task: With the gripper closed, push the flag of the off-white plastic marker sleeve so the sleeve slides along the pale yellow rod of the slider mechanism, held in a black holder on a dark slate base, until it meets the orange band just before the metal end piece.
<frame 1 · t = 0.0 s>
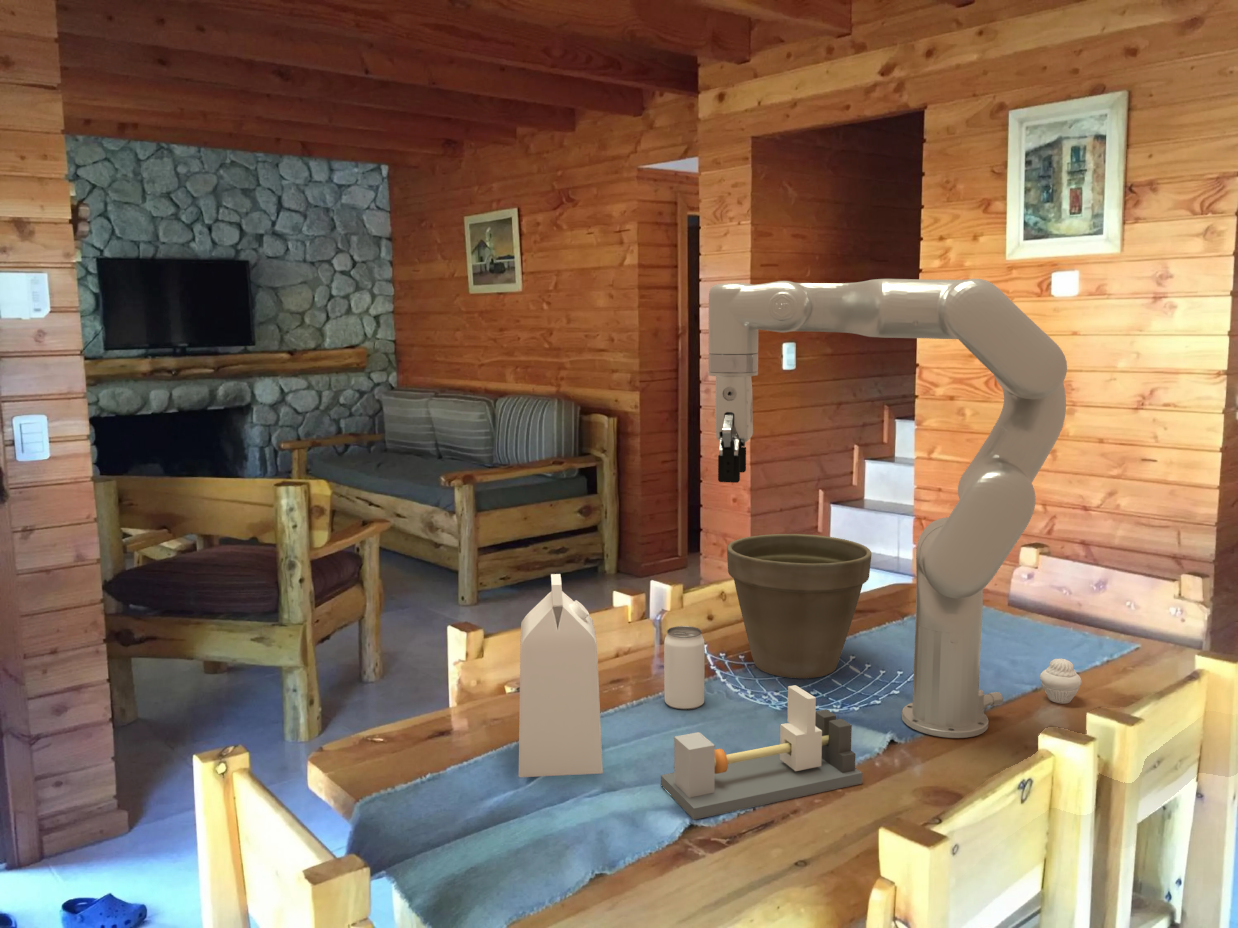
hand: (732, 476, 156), 37 cm above the table, tool pointing down, fingers open, 9 cm apart
milk: (559, 757, 144), on the table
sleeve: (801, 727, 136), point 7 cm above the table, slide at 0.0 cm
plant pot: (796, 665, 181), on the table
slider mechanism: (761, 784, 135), on the table
can: (684, 703, 164), on the table
muffin: (1059, 701, 163), on the table
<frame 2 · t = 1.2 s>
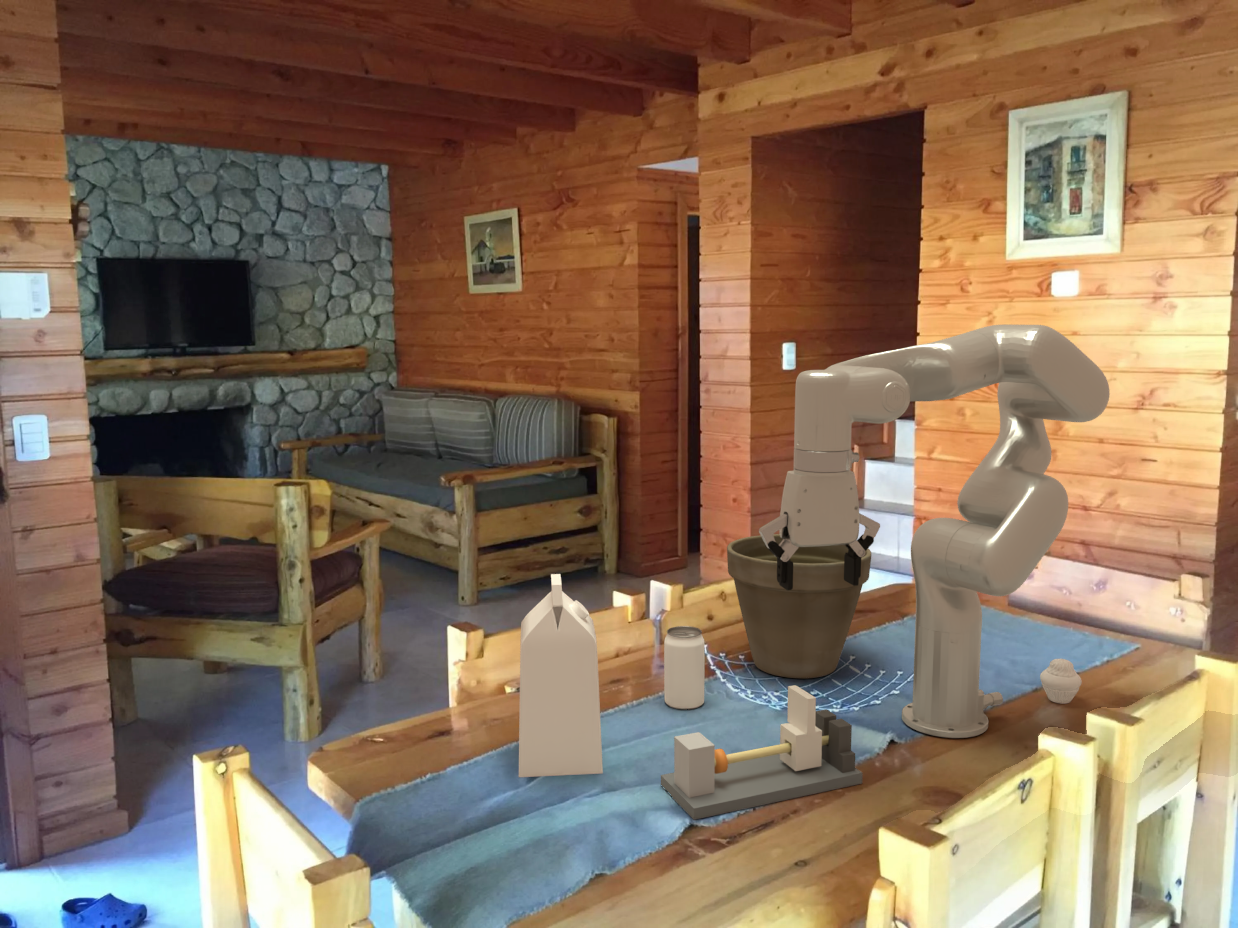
hand: (818, 585, 139), 25 cm above the table, tool pointing down, fingers open, 9 cm apart
nothing on the table moved.
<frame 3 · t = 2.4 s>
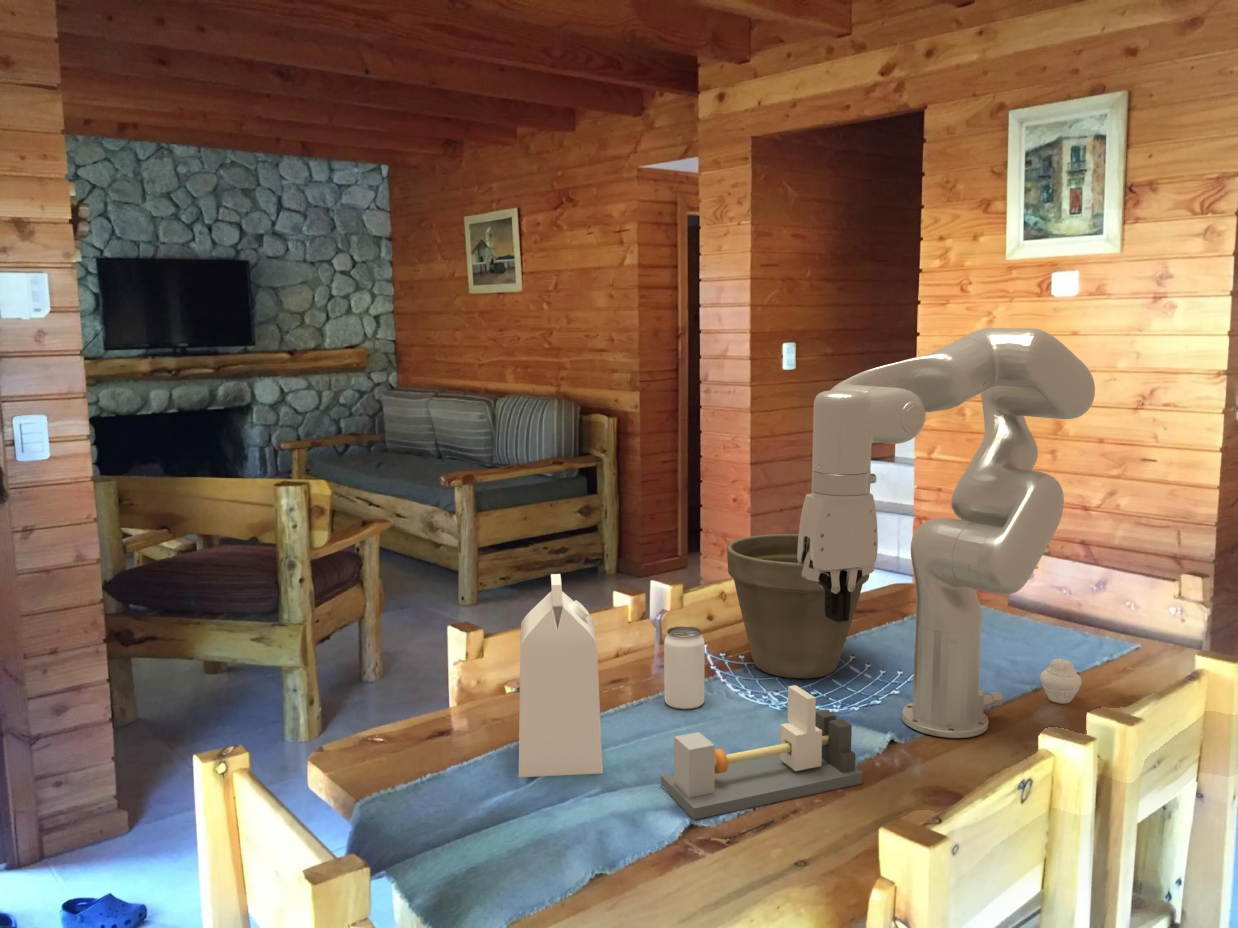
hand: (837, 618, 136), 22 cm above the table, tool pointing down, fingers closed
nothing on the table moved.
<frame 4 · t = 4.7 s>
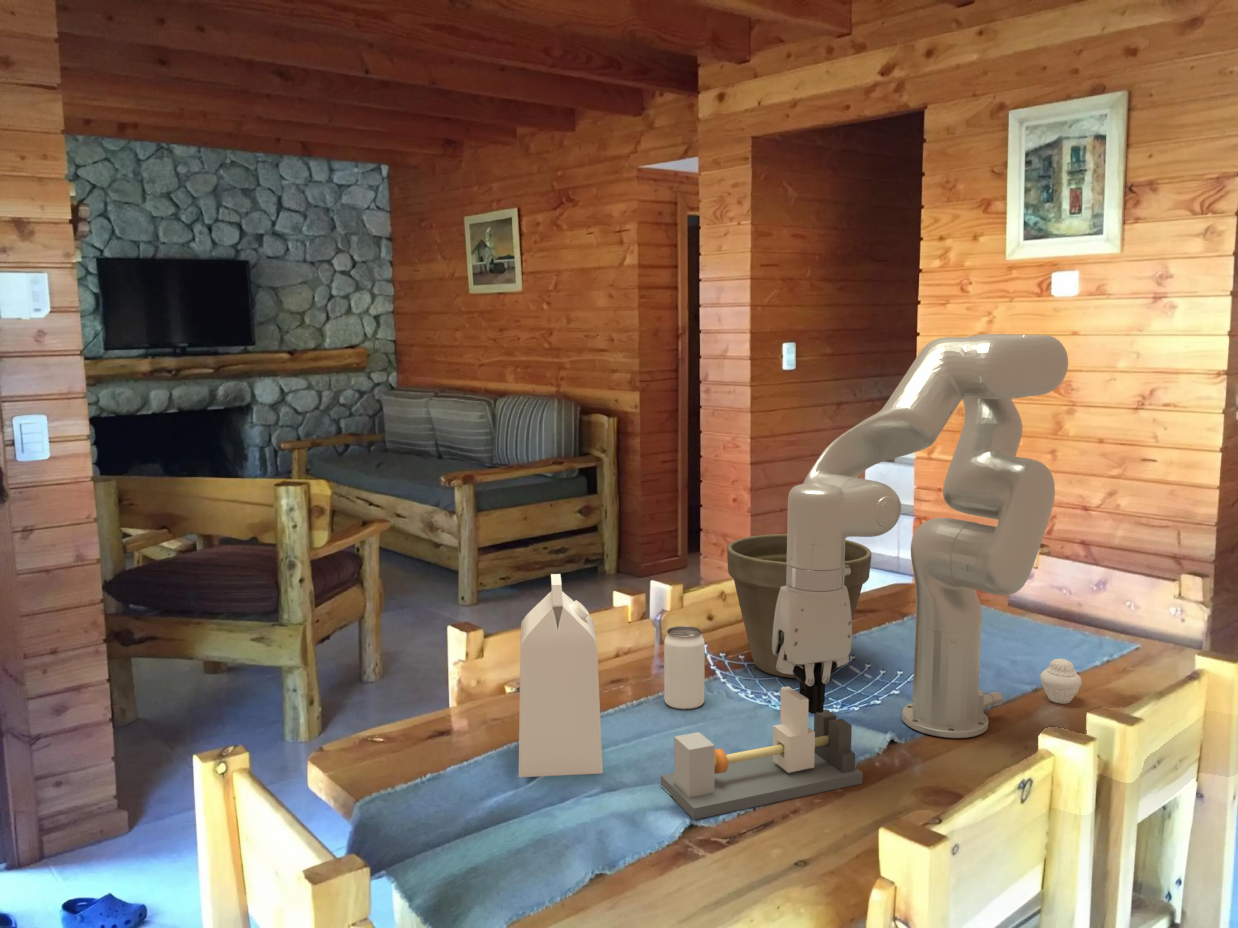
hand: (811, 709, 136), 9 cm above the table, tool pointing down, fingers closed
sleeve: (793, 728, 136), point 7 cm above the table, slide at 1.1 cm, touching gripper
everything else where it was.
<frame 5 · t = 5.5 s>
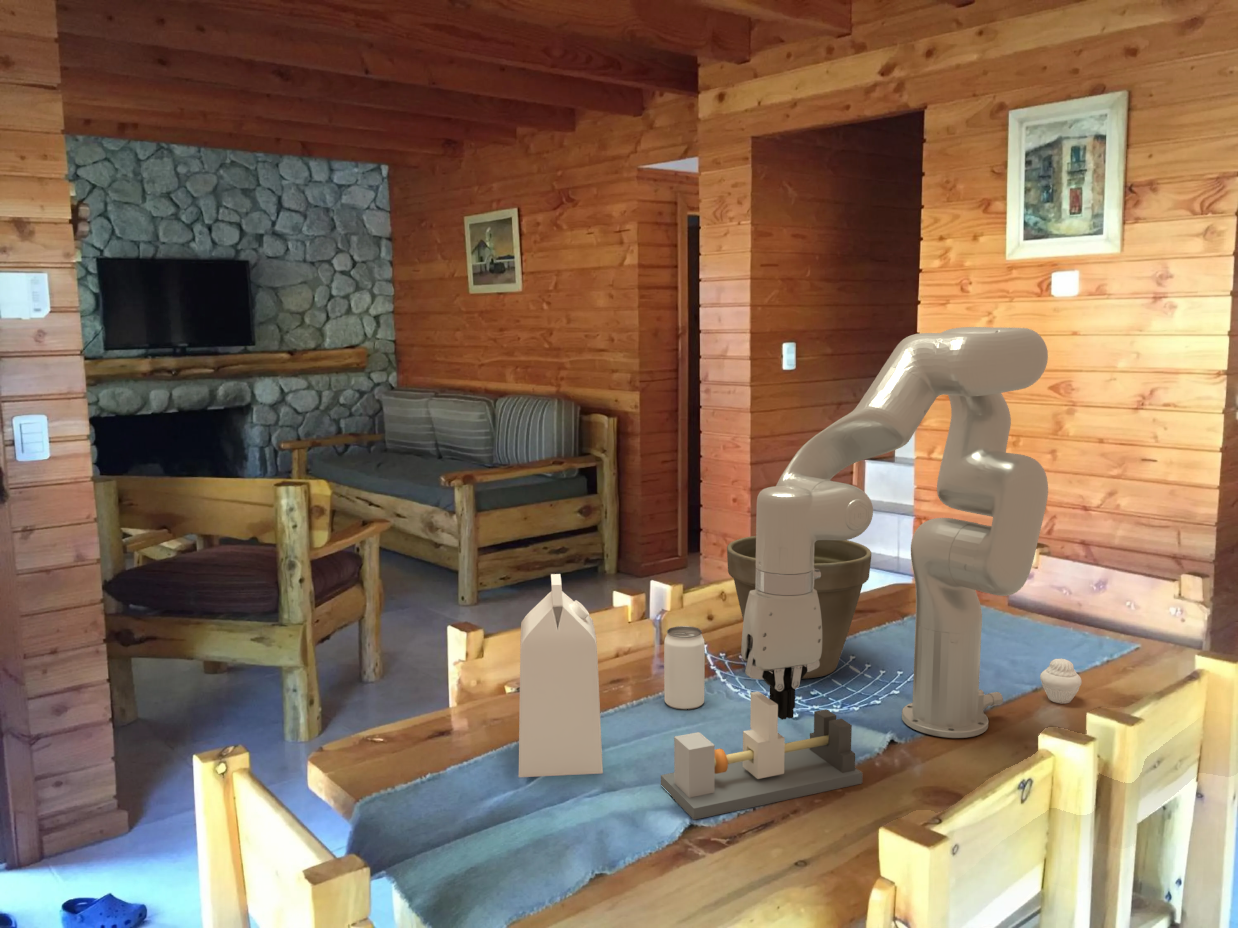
hand: (781, 714, 135), 9 cm above the table, tool pointing down, fingers closed
sleeve: (763, 734, 134), point 7 cm above the table, slide at 5.8 cm, touching gripper
everything else where it was.
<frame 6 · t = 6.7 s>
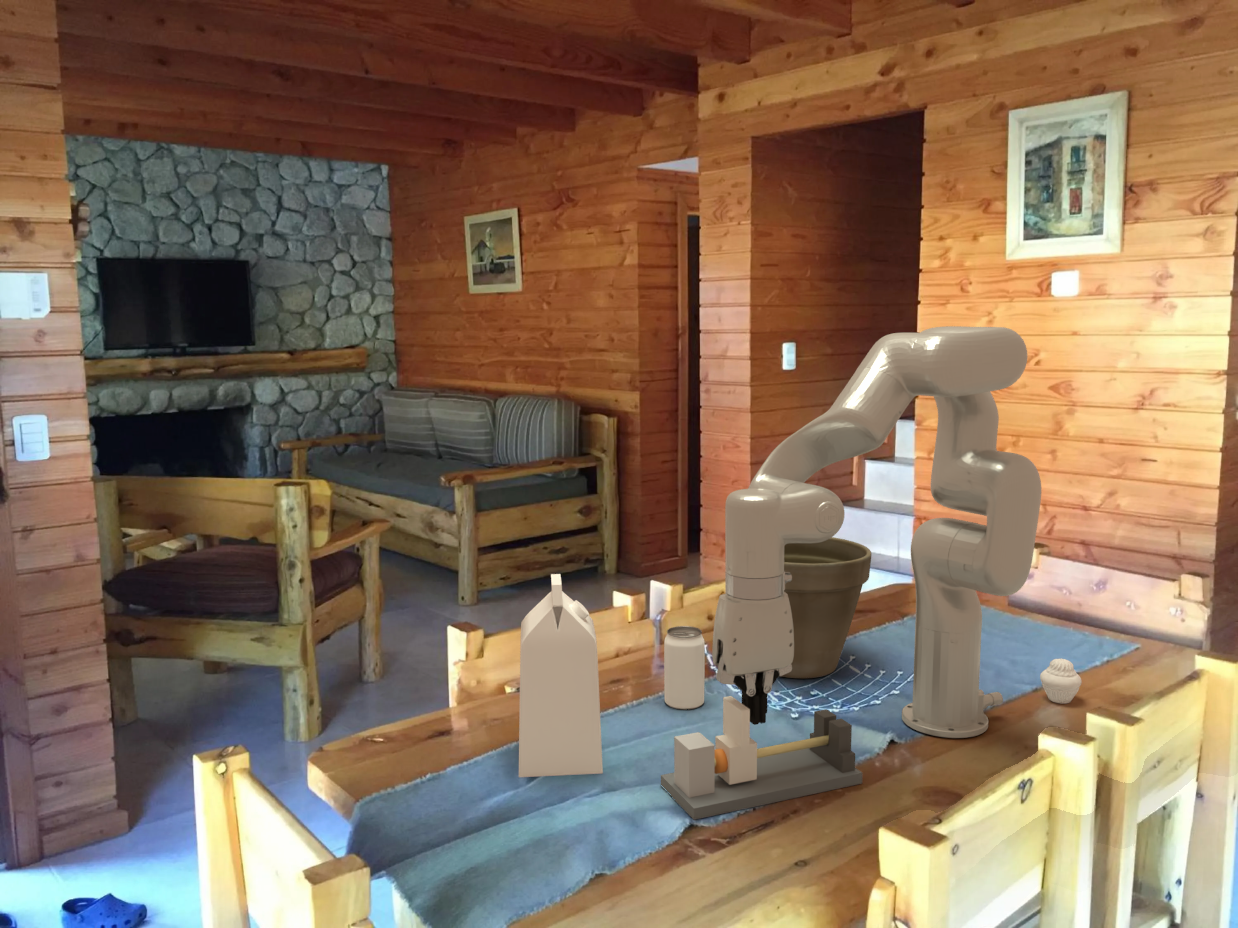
hand: (754, 719, 133), 9 cm above the table, tool pointing down, fingers closed
sleeve: (736, 739, 133), point 7 cm above the table, slide at 9.9 cm, touching slider mechanism, gripper
everything else where it was.
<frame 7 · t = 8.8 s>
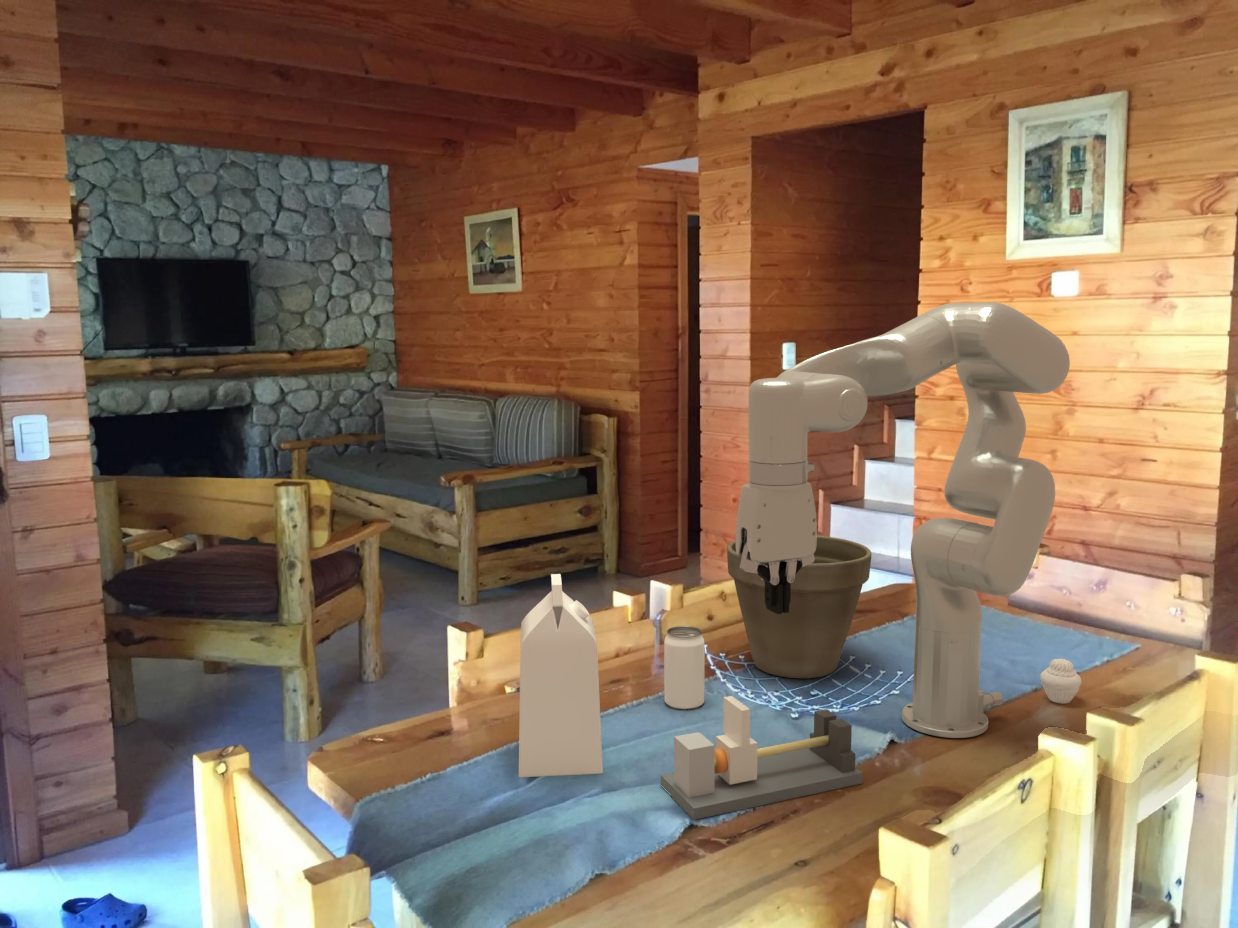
hand: (777, 610, 134), 23 cm above the table, tool pointing down, fingers closed
sleeve: (736, 739, 133), point 7 cm above the table, slide at 9.9 cm
everything else where it was.
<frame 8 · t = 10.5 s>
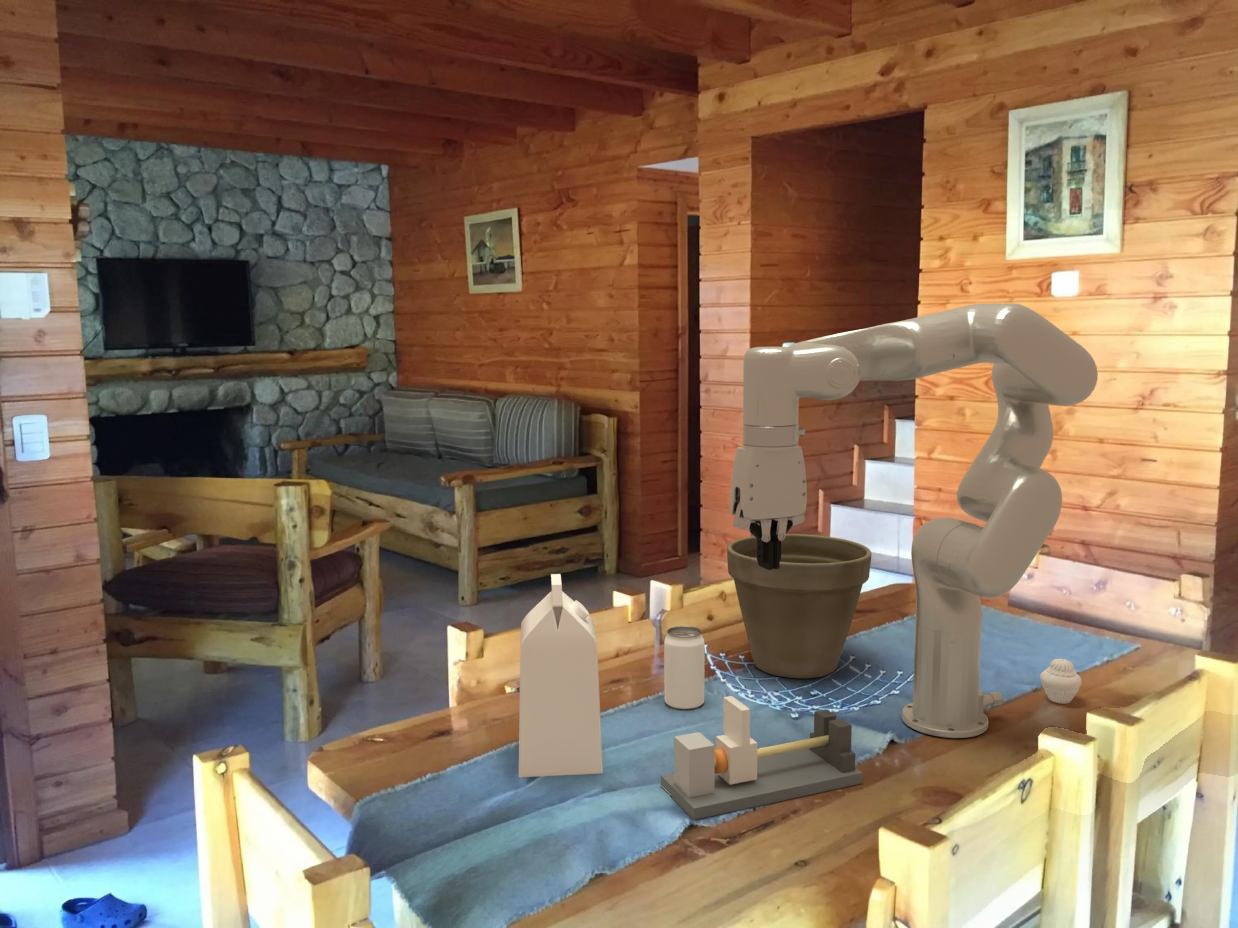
hand: (768, 567, 141), 27 cm above the table, tool pointing down, fingers closed
nothing on the table moved.
at the end: sleeve slide at 9.9 cm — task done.
